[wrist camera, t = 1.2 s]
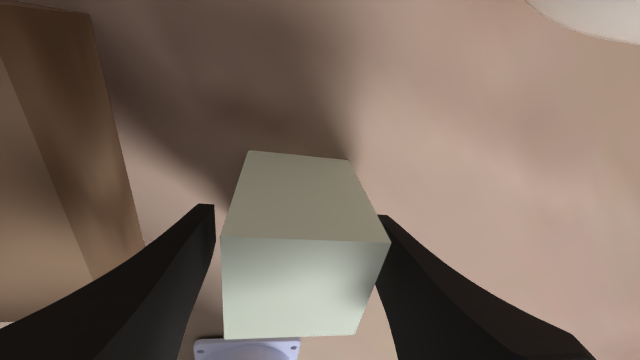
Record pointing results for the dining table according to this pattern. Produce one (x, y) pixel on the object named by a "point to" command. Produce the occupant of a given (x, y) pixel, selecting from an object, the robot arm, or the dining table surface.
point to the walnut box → (57, 162)
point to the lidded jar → (594, 17)
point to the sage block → (298, 248)
